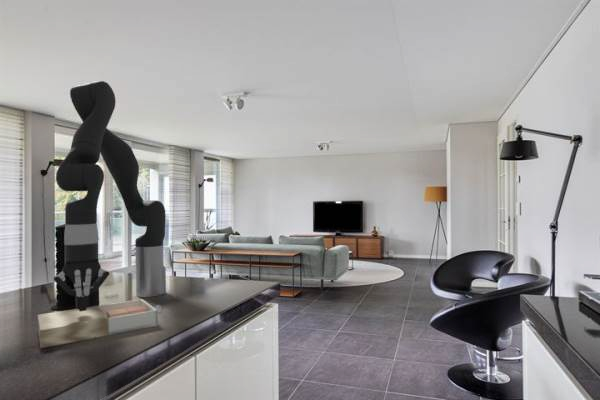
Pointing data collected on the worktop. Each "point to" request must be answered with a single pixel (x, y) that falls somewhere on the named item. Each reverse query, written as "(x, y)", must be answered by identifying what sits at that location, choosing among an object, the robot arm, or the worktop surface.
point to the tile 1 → (117, 313)
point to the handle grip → (63, 297)
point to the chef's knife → (158, 308)
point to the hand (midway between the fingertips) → (82, 310)
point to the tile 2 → (136, 309)
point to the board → (71, 326)
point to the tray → (130, 317)
